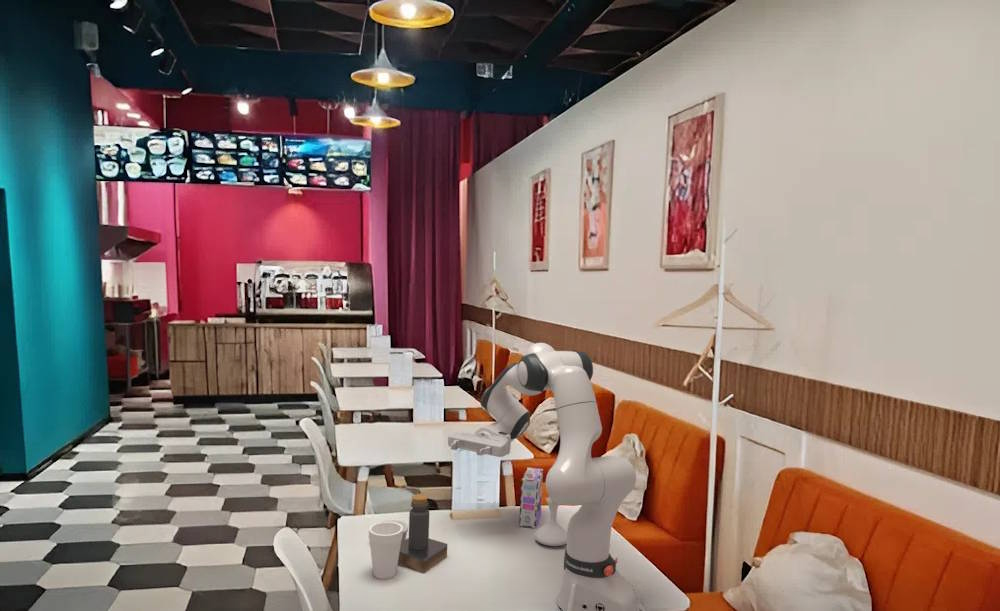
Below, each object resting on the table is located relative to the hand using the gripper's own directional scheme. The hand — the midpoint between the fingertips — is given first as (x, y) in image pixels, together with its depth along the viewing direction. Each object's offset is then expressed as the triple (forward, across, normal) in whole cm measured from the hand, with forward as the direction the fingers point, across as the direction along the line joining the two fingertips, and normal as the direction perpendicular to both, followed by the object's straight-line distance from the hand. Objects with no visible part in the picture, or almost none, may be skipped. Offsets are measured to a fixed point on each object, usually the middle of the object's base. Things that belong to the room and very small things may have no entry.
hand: (465, 449), depth 198 cm
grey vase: (-18, +23, +30) cm, 42 cm away
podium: (+16, -5, +30) cm, 34 cm away
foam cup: (+28, -8, +30) cm, 42 cm away
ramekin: (+12, -19, +30) cm, 38 cm away
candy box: (-29, +10, +30) cm, 43 cm away
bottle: (+16, -5, +26) cm, 31 cm away
